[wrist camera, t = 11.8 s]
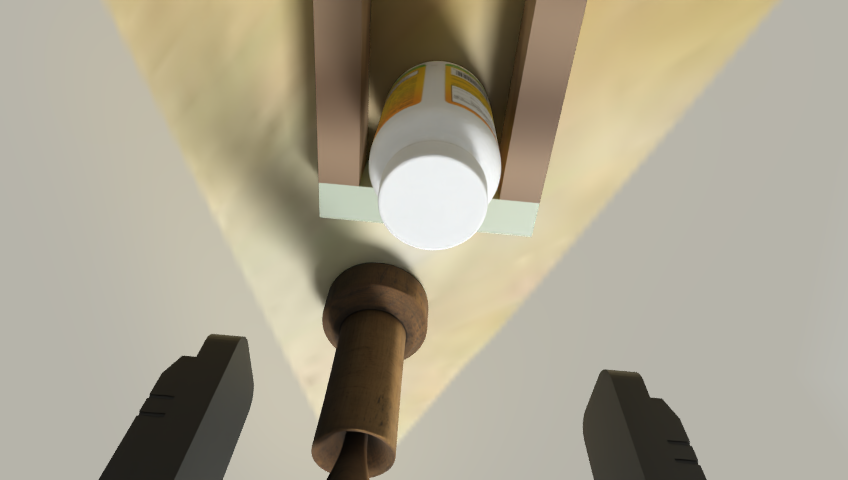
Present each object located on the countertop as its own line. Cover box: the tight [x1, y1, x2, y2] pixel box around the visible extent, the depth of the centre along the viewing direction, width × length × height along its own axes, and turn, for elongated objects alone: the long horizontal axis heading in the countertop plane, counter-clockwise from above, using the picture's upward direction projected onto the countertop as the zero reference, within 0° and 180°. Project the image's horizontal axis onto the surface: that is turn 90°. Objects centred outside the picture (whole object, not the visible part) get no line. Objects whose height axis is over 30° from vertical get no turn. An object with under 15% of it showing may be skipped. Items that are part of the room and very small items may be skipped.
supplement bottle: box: [369, 61, 501, 250], centre depth 23 cm, size 5×5×10 cm
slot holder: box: [313, 0, 587, 237], centre depth 25 cm, size 12×11×3 cm
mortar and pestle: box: [312, 263, 428, 480], centre depth 26 cm, size 7×6×18 cm
